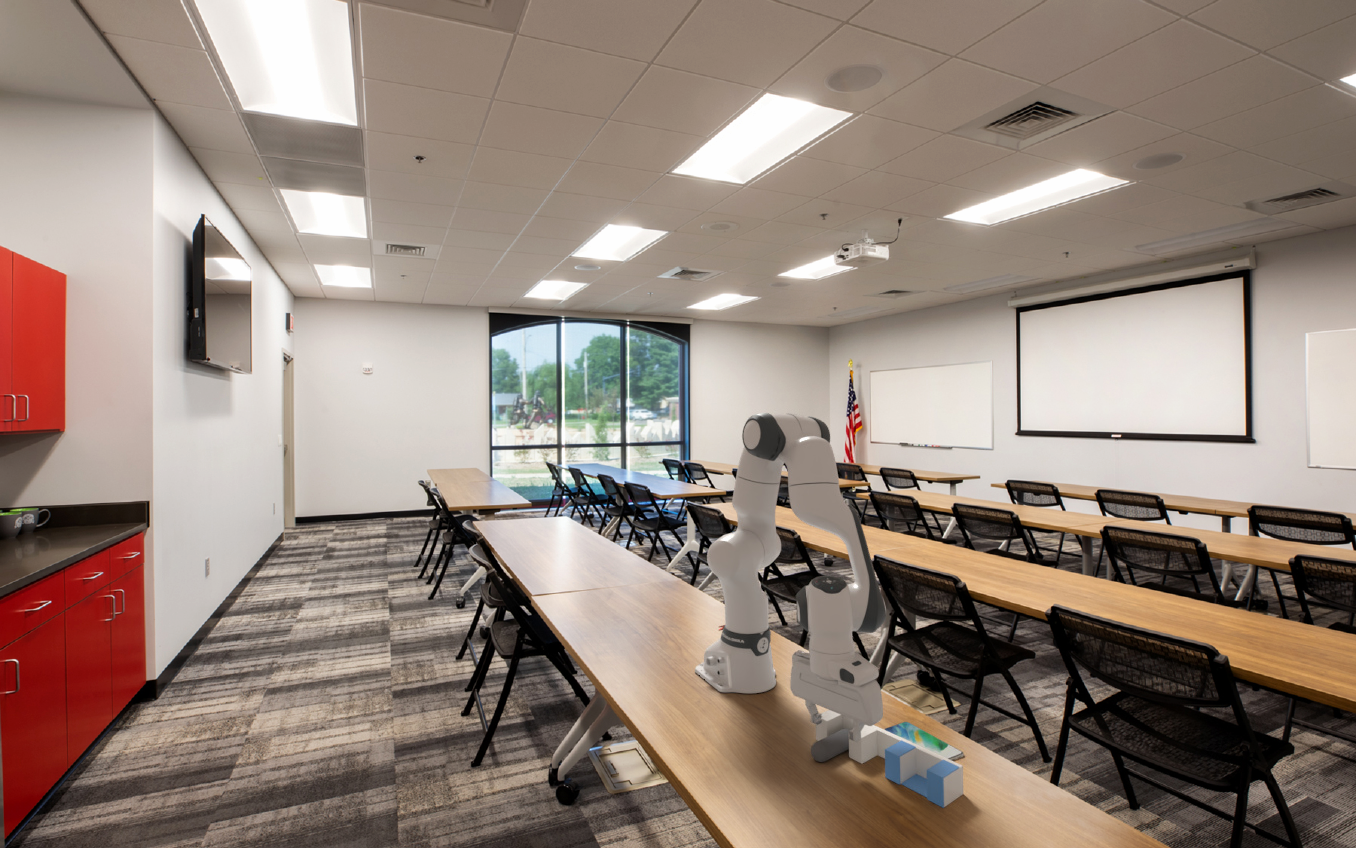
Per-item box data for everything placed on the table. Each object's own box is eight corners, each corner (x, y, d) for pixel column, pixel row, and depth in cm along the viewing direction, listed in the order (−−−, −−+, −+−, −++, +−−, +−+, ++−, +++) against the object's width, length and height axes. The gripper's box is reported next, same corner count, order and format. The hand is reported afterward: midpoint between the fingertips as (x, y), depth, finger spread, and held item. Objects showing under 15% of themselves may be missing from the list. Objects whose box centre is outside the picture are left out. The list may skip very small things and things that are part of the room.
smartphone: (940, 763, 118) (882, 729, 131) (940, 767, 118) (882, 733, 131) (965, 753, 121) (906, 720, 135) (966, 757, 121) (906, 724, 135)
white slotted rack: (815, 740, 128) (814, 715, 128) (835, 730, 132) (834, 706, 132) (943, 808, 105) (942, 777, 105) (963, 793, 109) (962, 764, 109)
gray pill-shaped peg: (807, 760, 121) (806, 741, 121) (845, 741, 128) (844, 724, 128) (821, 768, 118) (821, 749, 118) (859, 748, 125) (859, 730, 125)
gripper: (782, 651, 128) (784, 718, 128) (866, 680, 112) (869, 756, 112) (802, 644, 132) (804, 709, 132) (886, 671, 116) (889, 745, 116)
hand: (835, 731), depth 122 cm, fingers open, 8 cm apart
